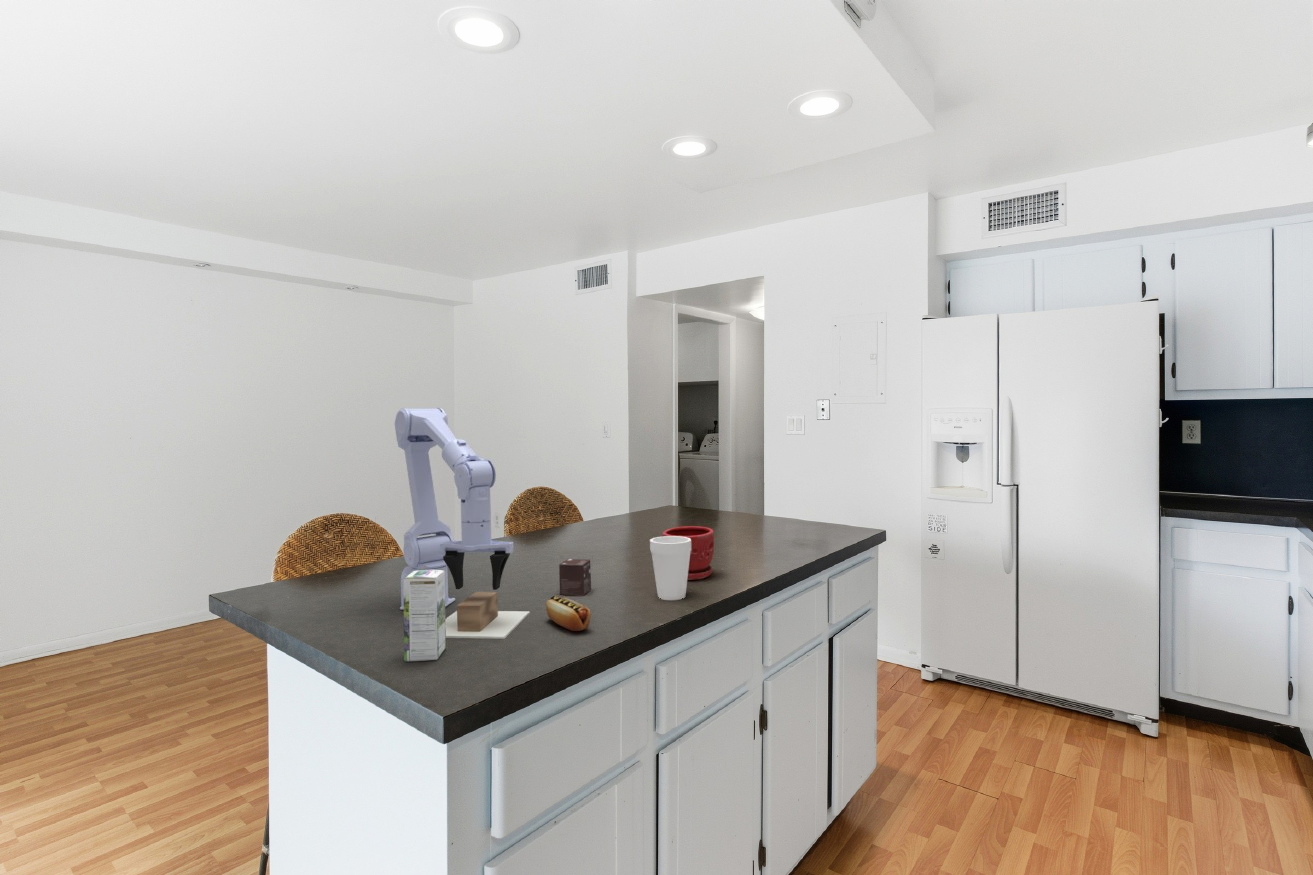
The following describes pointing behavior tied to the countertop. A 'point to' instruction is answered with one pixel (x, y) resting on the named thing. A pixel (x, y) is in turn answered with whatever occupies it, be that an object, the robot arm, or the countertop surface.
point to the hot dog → (568, 613)
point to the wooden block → (477, 611)
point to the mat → (488, 626)
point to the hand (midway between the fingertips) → (477, 588)
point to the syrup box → (424, 615)
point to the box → (575, 577)
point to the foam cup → (671, 565)
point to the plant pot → (697, 549)
